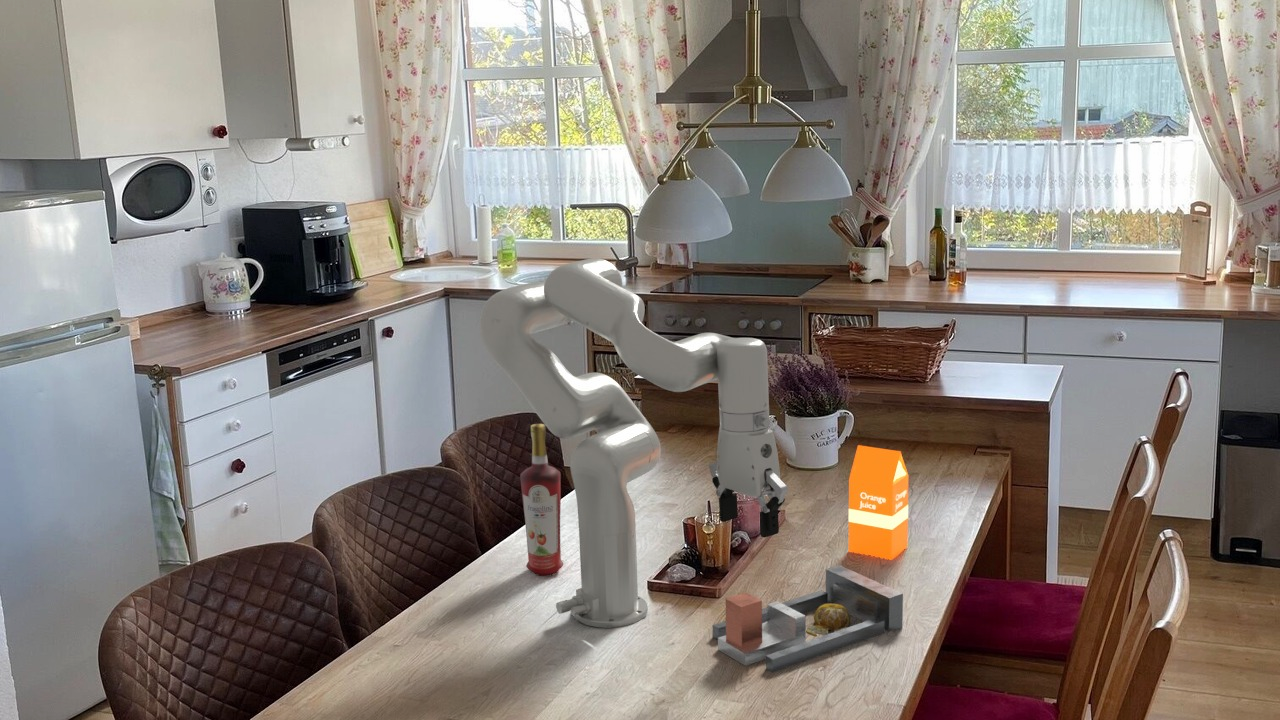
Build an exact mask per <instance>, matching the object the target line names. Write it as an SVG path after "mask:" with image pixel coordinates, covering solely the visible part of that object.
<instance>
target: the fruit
mask: <svg viewBox="0 0 1280 720" xmlns="http://www.w3.org/2000/svg"><path fill="white" fill-rule="evenodd" d="M850 618H851V617H850V614H849V613H848V611H847V610H846V608H845V607H843V606H842V605H838V604H832V603H828V604H823V605H821V606H820V607H818V608H817V609H815V612H814V616H813V620H814V625H810V626H808V627H807V628H806V634H809V635H811V636H814V637H818V635H817V634H820V635H824V636H825V635H827V634H829V631H833V632H836V631H839V630H842V629H845V628H848V627H849V625H850V624H851V621H850V620H851V619H850ZM816 633H817V634H816Z"/></svg>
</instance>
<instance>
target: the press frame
mask: <svg viewBox="0 0 1280 720" xmlns="http://www.w3.org/2000/svg"><path fill="white" fill-rule="evenodd" d="M781 603H782V604H784V605H786V606H788V607H790V608H792V609H794V610H796V611H797V612H799V613H801V614H805V613H808V612H810V611H814V610H817V609H818V607H820V606H821V605H823V604H838V605H842V606H843V607H845V608H846V610H847V611H848V613H849V616H850V615H851V616H852V617H853V618H856V619H858V620H860V621H862V622H860V623H857V624H854V625H851V626H848V628H845V629H842V630H839V631H836V632H834V631H832V632H830V633H828V634H827V635H825V634H824V635H821V636H819V637H817V638H813V639H810V640H807V641H806V642H804V643H801V644H798V645H796V646H793V647H790V648H787V649H784V650H781V651H778V652H775V653H772V654H769V655H767V656H766V659H765V669H766V670H767V671H769V672H771V673H776V672H778V671H781V670H784V669H786V668H790V667H792V666H795V665H798V664H801V663H804V662H806V661H809V660H812V659H815V658H818V657H821V656H824V655H826V654H829V653H832V652H835V651H838V650H840V649H843V648H846V647H849V646H852V645H854V644H857V643H860V642H863V641H867V640H869V639H871V638H874V637H877V636H880V635H883V634H885V631H887V632H890V631H898V630H902V629H903V619H904V618H903V617H904V616H903V615H904V614H903V611H904V609H903V608H904V607H903V606H904V605H903V604H904V593H902V592H901V591H898V590H897V589H894V588H891V587H890V586H887V585H884V584H882V583H881V582H878V581H876V580H874V579H871V578H869V577H867V576H865V575H862V574H860V573H858V572H855V571H854V570H851V569H850V568H846V567H844V566H842V565H840V564H839V565H835V566H831V567H829V568H826V569H825V591H824V590H818V591H816V592H811V593H809V594H805V595H802V596H799V597H796V598H793V599H789V600H787V601H783V602H781ZM765 622H768V606H767V607H765V608H762V623H765ZM725 635H726V620H724V621H720V622H718V623H714V624H712V638H714V640H716V641H718V638H719V637H722V636H725Z"/></svg>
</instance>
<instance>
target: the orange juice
mask: <svg viewBox="0 0 1280 720" xmlns="http://www.w3.org/2000/svg"><path fill="white" fill-rule="evenodd" d="M851 466H852V467H851V470H850V474H849V478H848V553H849V552H850V553H853V552H854V553H855V554H858V553H860V554H859V555H863V554H865V555H864V556H868V555H871V556H870V557H873V556H875V557H874V558H878V557H880V559H883V558H885V559H884V560H888V559H889V561H893V560H894V559H895V558H896V557H898V556H899V555H900V554H901V553H902V552H903V551H905V550H906V549H908V528H909V527H908V525H909V523H908V522H909V521H908V520H909V474H908V471H907V467H906V465H905V461H904V458H903V456H902V451H901V450H893V449H886V448H880V447H873V446H867V445H860V444H859V445H857V448H856V452H855V455H854V459H853V463H852V465H851ZM904 549H905V550H904Z"/></svg>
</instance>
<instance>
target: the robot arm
mask: <svg viewBox="0 0 1280 720" xmlns="http://www.w3.org/2000/svg"><path fill="white" fill-rule="evenodd" d="M622 279H623V278H622V276H621V273H620V272H619V270H618V269H617V267H616V266H615V265H614V264H613V263H611V262H610V261H608V260H606V259H604V258H599V257H592V258H587V259H583V260H577V261H572V262H568V263H565V264H561V265H559V266H558V267H556V268H554V269H553V270H552V271H551V272H550V273H549V274H548V276H547V277H546V278H545V279H542V280H537V281H533V282H529V283H525V284H520V285H515V286H511V287H507V288H504V289H501V290H500V291H497V292H495V293H494V294H492V295H491V296H490V297H489V298H488V299H487V300H486V302H485V303H484V304H483V307H482V308H481V312H480V317H479V331H480V335H481V339H482V343H483V345H484V347H485V349H486V352H487V353H488V354H489V356H490V357H491V358H492V360H493V361H494V362H495V364H497V366H498V367H499V368H500V369H501V370H502V371H503V372H504V373H505V375H507V376H508V378H509V379H510V380H511V381H512V382H513V383H514V385H515V386H516V387H517V388H518V390H519V392H520V393H521V394H522V396H523V398H524V399H525V400H526V401H527V403H528V404H529V405H530V407H531V408H532V410H533V411H534V412H535V413H536V415H537V417H538V418H539V419H540V420H541V422H542V424H544V425H545V428H546V429H548V431H550V433H551V434H553V436H555V437H557V438H558V439H564V440H568V439H573V438H576V437H579V436H582V435H583V434H586V433H589V432H592V431H595V432H596V433H594V434H592V435H590V436H588V437H586V438H585V439H583V440H581V441H580V443H578V444H577V446H576V447H575V448H574V450H573V452H572V453H571V457H570V460H569V461H570V462H569V463H570V465H569V466H570V467H569V469H570V475H571V479H572V483H573V486H574V491H575V497H576V503H577V518H578V521H577V523H578V536H579V537H578V538H579V556H580V559H579V560H580V563H579V564H580V581H581V582H580V583H581V584H580V585H581V588H576V589H575V595H573V596H572V598H571V599H565V600H561V601H557V602H556V603H555V608H556V611H557V613H558V614H560V615H561V614H565V613H568V612H570V613H571V615H572V616H574V618H575V619H576V620H577V622H580V623H581V624H584V625H586V626H590V627H595V628H604V629H605V628H606V629H607V628H610V629H612V628H620V627H625V626H628V625H633V624H635V623H637V622H639V621H641V620H643V619H644V618H645V617H646V616H647V614H648V608H649V607H648V603H647V602H646V600H645V599H644V598H643V597H640V596H639V592H638V591H639V589H638V588H639V587H638V562H637V561H638V560H637V558H638V557H637V533H636V532H637V531H636V525H637V524H636V512H635V506H634V503H633V501H632V498H631V497H630V494H629V491H628V488H627V485H628V483H630V482H632V481H633V480H636V479H638V478H640V477H642V476H644V475H645V474H647V473H649V472H650V471H652V470H653V469H655V467H657V465H658V463H659V461H660V459H661V454H662V449H661V447H662V446H661V442H660V439H659V437H658V435H657V433H656V431H655V429H654V428H653V426H652V425H651V423H649V421H648V419H647V418H646V417H645V416H644V415H643V413H642V412H641V411H640V409H639V408H638V407H637V405H636V404H635V403H634V402H633V400H632V399H631V397H630V396H629V395H628V394H627V392H626V391H625V390H624V388H623V387H622V386H621V385H620V384H619V383H618V382H617V381H616V380H614V379H613V378H612V377H611V376H609V375H607V374H604V373H602V372H587V373H583V374H580V375H578V376H575V375H573V374H572V373H571V372H570V371H569V370H568V369H567V368H566V367H565V365H564V364H563V363H562V361H561V360H560V358H559V357H558V356H557V355H556V354H555V353H554V351H552V350H551V349H550V348H548V347H547V346H545V345H543V344H542V343H541V342H539V341H537V340H535V339H534V338H533V336H532V334H537V333H540V332H542V331H543V332H544V331H546V330H550V329H554V328H558V327H560V326H564V325H566V324H568V323H571V322H575V324H578V325H580V326H582V327H584V328H585V329H587V330H589V331H591V332H592V333H594V334H596V335H598V336H600V337H602V338H603V339H605V340H607V341H609V343H610V342H611V343H612V344H613V346H614V349H615V351H616V352H617V353H616V354H617V355H618V356H619V358H620V359H621V361H622V362H623V364H625V366H626V367H627V368H628V369H629V370H631V371H632V372H633V373H634V374H636V375H638V376H640V377H641V378H643V379H645V380H646V381H649V382H650V383H652V384H653V385H655V386H657V387H660V388H661V389H663V390H667V391H670V392H674V393H683V392H687V391H690V390H692V389H695V388H697V387H700V386H703V385H705V384H708V383H711V382H712V383H713V382H715V381H718V382H717V386H718V390H717V391H718V409H719V429H718V437H717V449H716V450H717V453H716V454H717V455H716V456H717V457H716V461H713V462H712V463H710V464H709V465H708V469H709V473H710V475H711V479H712V480H711V482H712V484H713V486H714V487H715V489H716V490H715V494H716V496H717V497H718V507H719V510H718V512H719V521H720V522H722V523H725V522H728V521H731V520H735V519H738V517H739V516H738V515H739V514H738V513H739V512H738V494H737V493H739V494H741V495H744V496H748V497H751V498H755V499H756V500H757V502H758V504H759V506H760V509H761V511H759V530H760V531H759V533H760V534H759V535H760V537H762V538H767V537H771V536H775V535H777V534H779V531H780V529H779V528H780V526H779V525H780V524H779V523H780V522H779V520H780V519H779V510H780V509H781V508H782V505H783V504H784V503H785V499H786V496H787V493H788V490H789V487H788V486H787V485H786V484H785V483H784V482H783V481H782V480H781V473H780V462H779V454H778V448H777V444H776V438H775V434H774V430H772V429H771V427H770V426H771V420H770V404H769V403H770V402H769V401H770V398H769V396H770V394H769V371H768V370H769V368H768V350H767V346H766V344H765V342H764V341H762V340H761V339H758V338H754V337H731V336H728V335H724V334H721V333H720V334H719V333H715V332H701V333H698V334H695V335H692V336H688V337H686V338H682V339H680V340H677V341H674V342H673V341H671V340H669V339H667V338H665V337H663V336H661V335H659V334H658V333H656V332H654V331H652V330H651V329H649V328H648V327H646V326H645V325H644V324H643V321H644V319H645V318H644V317H645V310H646V309H645V303H644V300H643V299H642V298H641V297H640V296H639V295H637V294H635V293H633V292H632V291H629V290H628V289H625V288H624V287H623V280H622ZM762 490H763V491H762ZM735 492H736V493H735ZM766 497H768V499H769V500H768V501H767V500H766Z"/></svg>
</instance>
